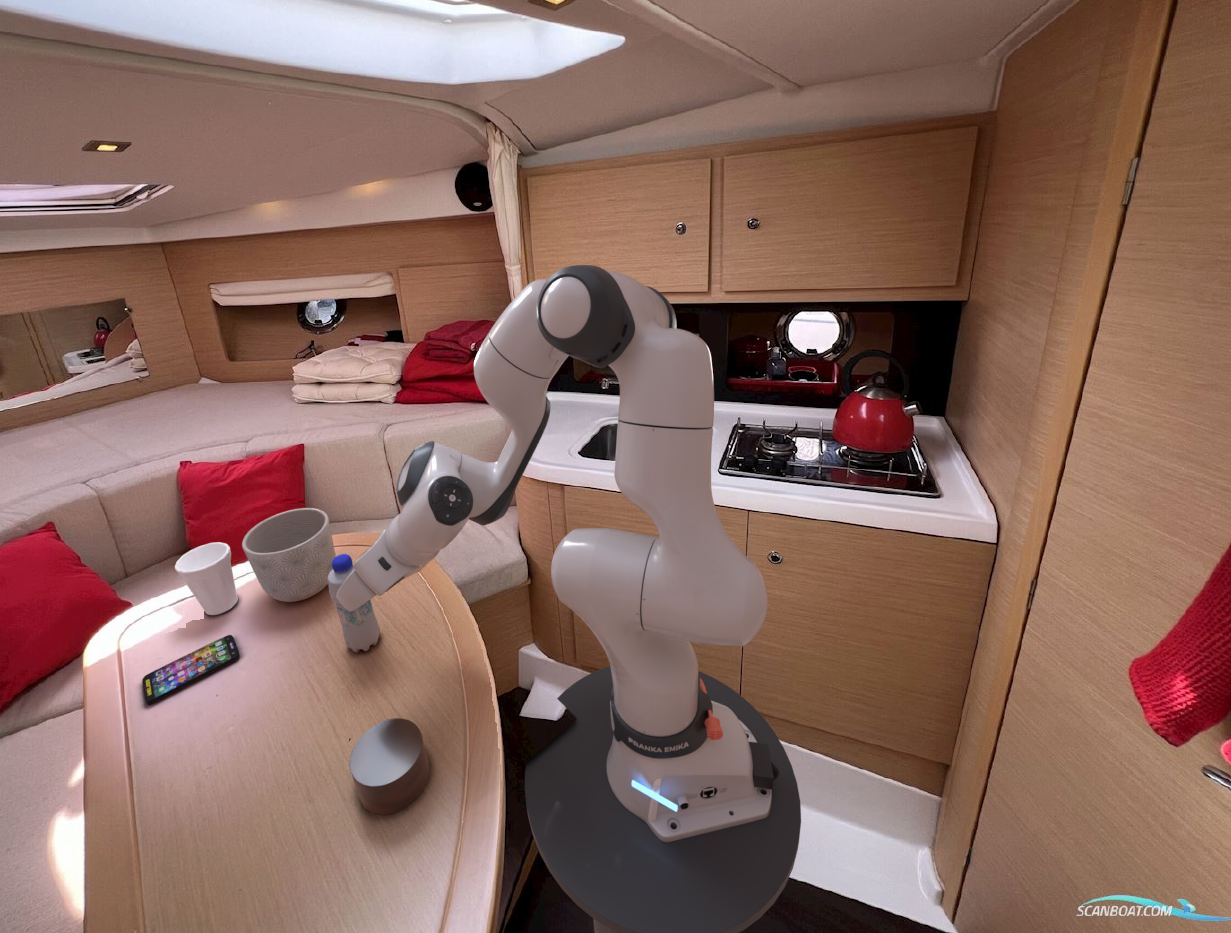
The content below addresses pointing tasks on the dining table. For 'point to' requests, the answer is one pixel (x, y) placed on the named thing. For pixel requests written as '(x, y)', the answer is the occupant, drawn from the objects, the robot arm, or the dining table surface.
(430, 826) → the dining table surface
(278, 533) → the planter
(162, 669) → the smartphone
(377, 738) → the pedestal
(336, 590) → the bottle
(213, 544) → the cup
